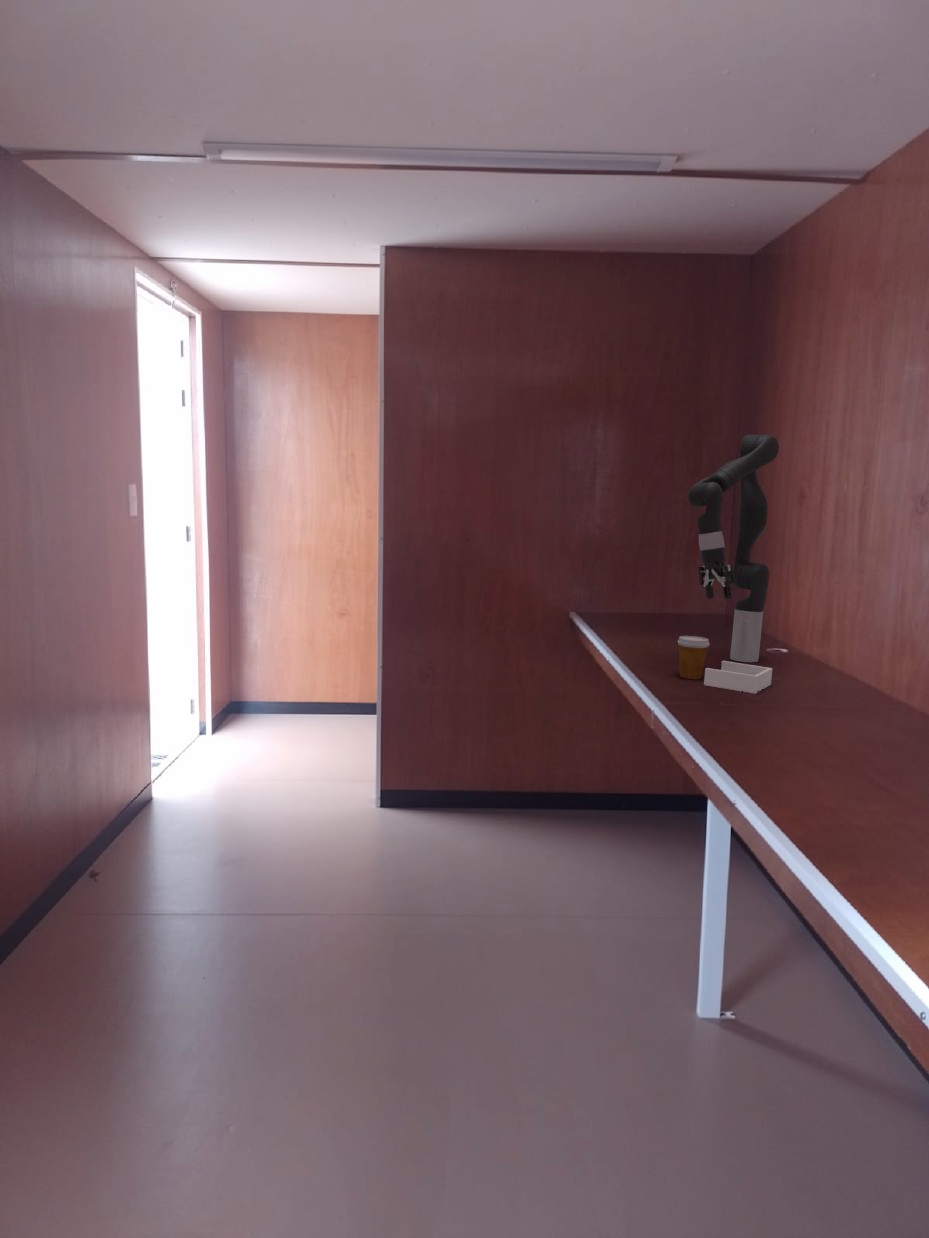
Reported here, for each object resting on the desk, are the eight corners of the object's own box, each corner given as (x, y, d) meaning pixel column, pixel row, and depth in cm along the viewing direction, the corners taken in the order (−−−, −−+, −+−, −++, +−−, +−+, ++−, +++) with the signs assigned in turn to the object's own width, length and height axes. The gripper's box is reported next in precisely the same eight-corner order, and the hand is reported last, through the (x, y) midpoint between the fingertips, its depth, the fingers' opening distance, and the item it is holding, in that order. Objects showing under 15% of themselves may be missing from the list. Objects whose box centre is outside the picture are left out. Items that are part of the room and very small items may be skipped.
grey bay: (721, 676, 276) (722, 660, 275) (770, 684, 267) (772, 668, 267) (703, 685, 262) (705, 668, 262) (755, 693, 254) (756, 676, 253)
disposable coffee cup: (709, 681, 268) (713, 641, 266) (678, 679, 268) (681, 640, 266) (702, 674, 277) (705, 636, 276) (671, 672, 278) (674, 634, 276)
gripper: (736, 544, 273) (743, 596, 274) (707, 546, 286) (714, 596, 288) (716, 548, 270) (723, 600, 272) (688, 549, 283) (695, 600, 285)
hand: (719, 598), depth 280 cm, fingers open, 8 cm apart
